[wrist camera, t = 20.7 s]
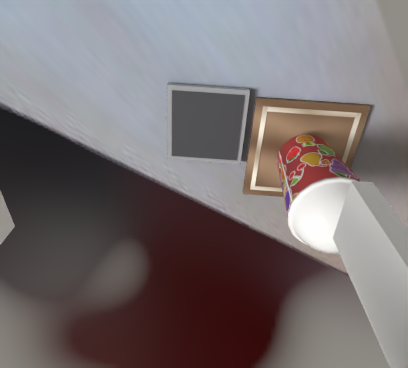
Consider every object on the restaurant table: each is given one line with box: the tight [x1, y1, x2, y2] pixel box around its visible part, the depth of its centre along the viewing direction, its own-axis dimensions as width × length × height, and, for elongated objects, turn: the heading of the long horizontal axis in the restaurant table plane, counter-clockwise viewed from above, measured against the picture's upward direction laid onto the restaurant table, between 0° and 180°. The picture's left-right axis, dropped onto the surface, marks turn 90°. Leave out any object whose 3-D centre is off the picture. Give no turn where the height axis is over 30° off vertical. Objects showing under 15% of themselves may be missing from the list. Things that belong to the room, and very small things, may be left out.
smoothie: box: [277, 134, 361, 254], centre depth 34 cm, size 8×8×20 cm
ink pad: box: [167, 83, 250, 164], centre depth 41 cm, size 10×10×1 cm
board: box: [243, 97, 371, 197], centre depth 43 cm, size 14×14×1 cm
